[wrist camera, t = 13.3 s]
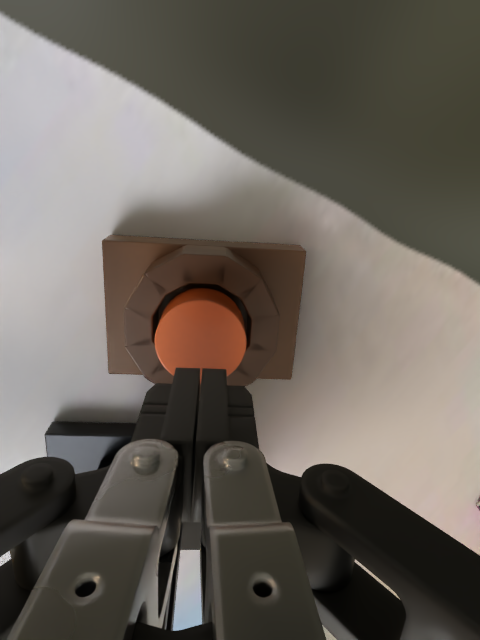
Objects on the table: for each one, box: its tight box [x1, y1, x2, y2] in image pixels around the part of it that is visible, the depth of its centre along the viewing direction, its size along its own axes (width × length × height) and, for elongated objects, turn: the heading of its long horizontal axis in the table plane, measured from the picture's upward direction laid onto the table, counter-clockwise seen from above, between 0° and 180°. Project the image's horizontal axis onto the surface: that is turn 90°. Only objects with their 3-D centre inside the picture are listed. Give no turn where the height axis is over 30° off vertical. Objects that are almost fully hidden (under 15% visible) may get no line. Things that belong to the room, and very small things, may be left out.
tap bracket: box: [45, 422, 201, 631], centre depth 18 cm, size 10×8×14 cm
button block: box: [102, 235, 306, 389], centre depth 19 cm, size 9×6×4 cm
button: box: [155, 288, 247, 384], centre depth 17 cm, size 4×4×2 cm
